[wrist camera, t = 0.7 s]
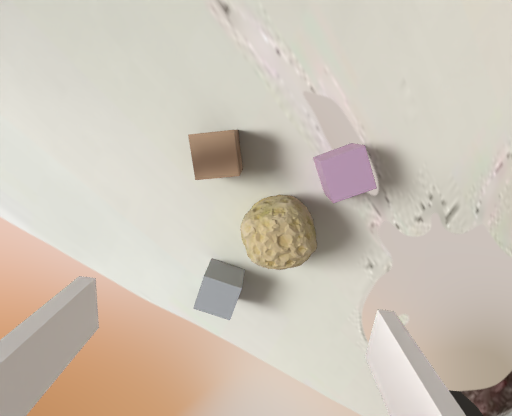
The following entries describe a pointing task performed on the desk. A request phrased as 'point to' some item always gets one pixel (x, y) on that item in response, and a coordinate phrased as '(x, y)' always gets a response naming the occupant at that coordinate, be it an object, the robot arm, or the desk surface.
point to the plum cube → (345, 172)
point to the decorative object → (279, 232)
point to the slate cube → (220, 289)
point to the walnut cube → (216, 154)
